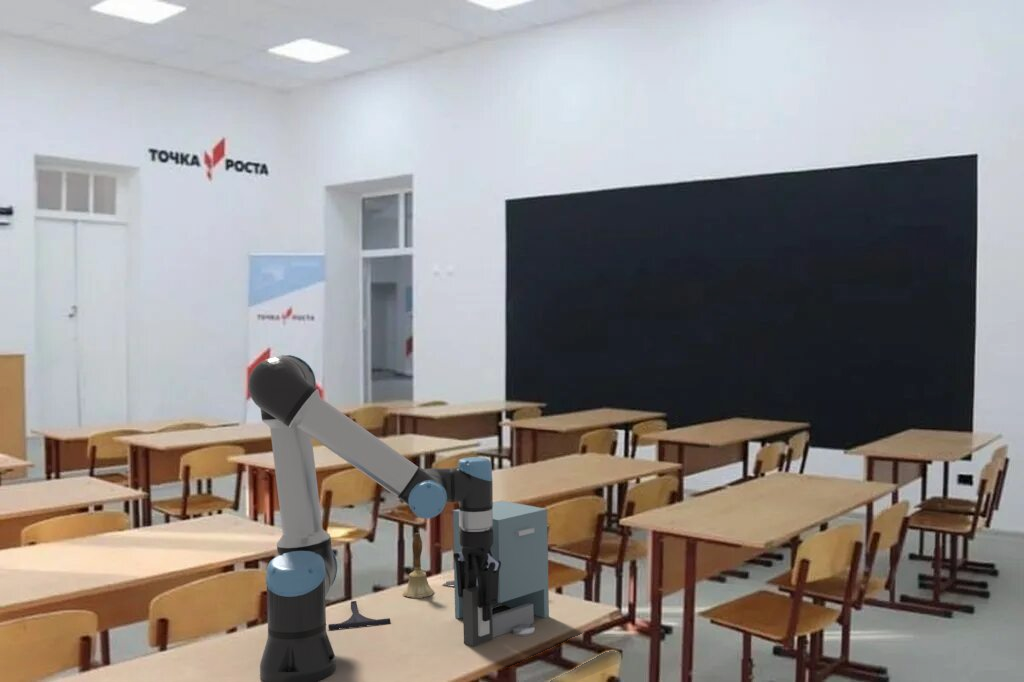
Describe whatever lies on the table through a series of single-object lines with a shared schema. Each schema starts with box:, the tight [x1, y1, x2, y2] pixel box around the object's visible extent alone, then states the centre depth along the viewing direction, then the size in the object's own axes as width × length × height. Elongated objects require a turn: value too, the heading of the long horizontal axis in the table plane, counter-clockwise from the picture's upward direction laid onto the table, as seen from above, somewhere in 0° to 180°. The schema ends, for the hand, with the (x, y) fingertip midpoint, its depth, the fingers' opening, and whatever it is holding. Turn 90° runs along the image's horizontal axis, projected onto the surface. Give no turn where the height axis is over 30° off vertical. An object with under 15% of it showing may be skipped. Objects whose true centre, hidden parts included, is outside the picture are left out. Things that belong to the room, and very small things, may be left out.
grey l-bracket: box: [462, 585, 535, 647], centre depth 206 cm, size 20×3×12 cm, turn 135°
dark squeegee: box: [327, 600, 392, 631], centre depth 219 cm, size 14×15×3 cm
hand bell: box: [402, 532, 435, 599], centre depth 237 cm, size 8×8×16 cm
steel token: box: [512, 624, 536, 637], centre depth 207 cm, size 5×5×1 cm
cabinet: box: [452, 500, 550, 620], centre depth 217 cm, size 16×17×26 cm
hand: (478, 632), depth 201 cm, fingers closed on grey l-bracket, 3 cm apart
